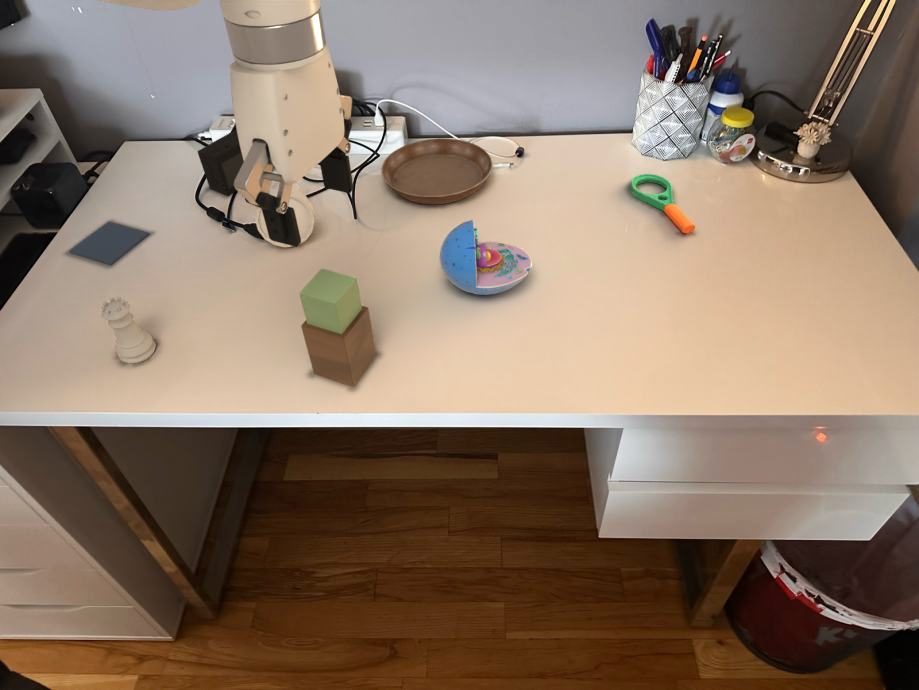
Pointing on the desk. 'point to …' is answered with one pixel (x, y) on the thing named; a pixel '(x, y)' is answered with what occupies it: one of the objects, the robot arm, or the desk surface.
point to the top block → (331, 301)
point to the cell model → (481, 262)
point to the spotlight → (301, 212)
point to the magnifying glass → (662, 200)
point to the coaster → (109, 243)
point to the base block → (341, 349)
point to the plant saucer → (437, 170)
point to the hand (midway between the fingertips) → (313, 214)
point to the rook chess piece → (127, 332)
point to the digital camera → (222, 163)
